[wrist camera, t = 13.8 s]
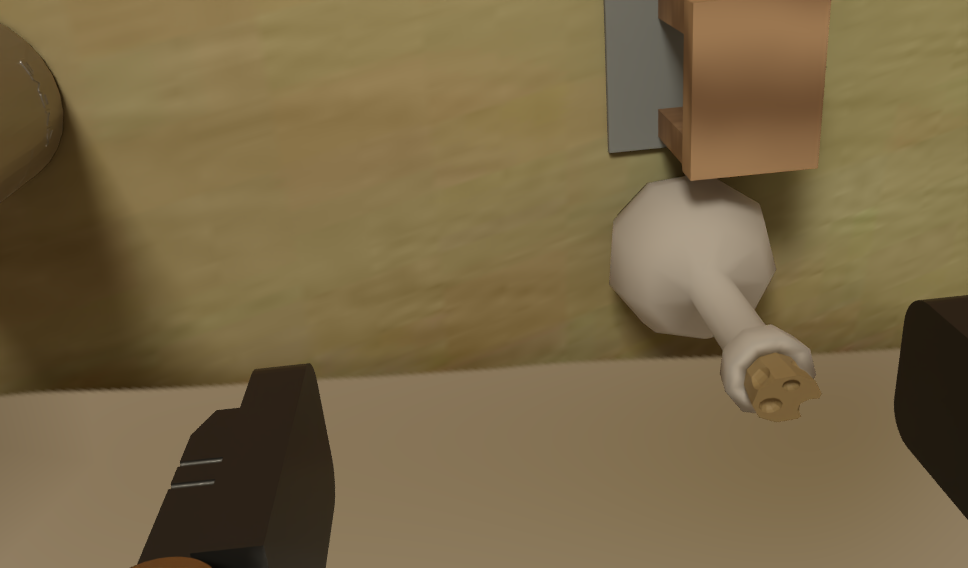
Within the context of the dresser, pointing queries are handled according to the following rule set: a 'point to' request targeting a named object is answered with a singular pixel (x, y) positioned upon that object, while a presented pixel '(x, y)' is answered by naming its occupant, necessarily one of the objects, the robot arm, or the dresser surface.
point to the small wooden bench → (747, 85)
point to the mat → (639, 72)
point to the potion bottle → (711, 287)
